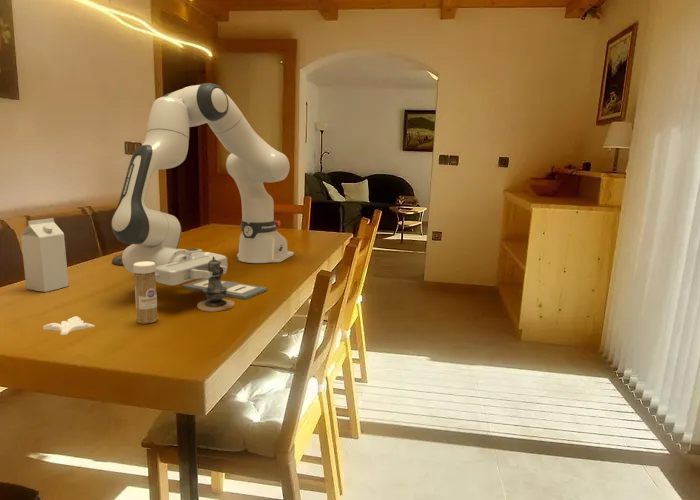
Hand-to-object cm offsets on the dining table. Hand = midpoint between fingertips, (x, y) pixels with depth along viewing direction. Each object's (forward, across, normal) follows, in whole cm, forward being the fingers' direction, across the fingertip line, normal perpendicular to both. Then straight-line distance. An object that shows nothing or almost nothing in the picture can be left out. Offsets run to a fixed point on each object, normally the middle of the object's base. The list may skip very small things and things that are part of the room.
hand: (217, 272), depth 118 cm
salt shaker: (-1, 0, +8) cm, 8 cm away
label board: (-9, +13, +9) cm, 18 cm away
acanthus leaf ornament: (-18, -27, +10) cm, 34 cm away
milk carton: (-51, -10, +9) cm, 53 cm away
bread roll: (-57, +24, +10) cm, 62 cm away
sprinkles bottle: (-7, -16, +9) cm, 20 cm away
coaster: (-1, 0, +9) cm, 9 cm away
